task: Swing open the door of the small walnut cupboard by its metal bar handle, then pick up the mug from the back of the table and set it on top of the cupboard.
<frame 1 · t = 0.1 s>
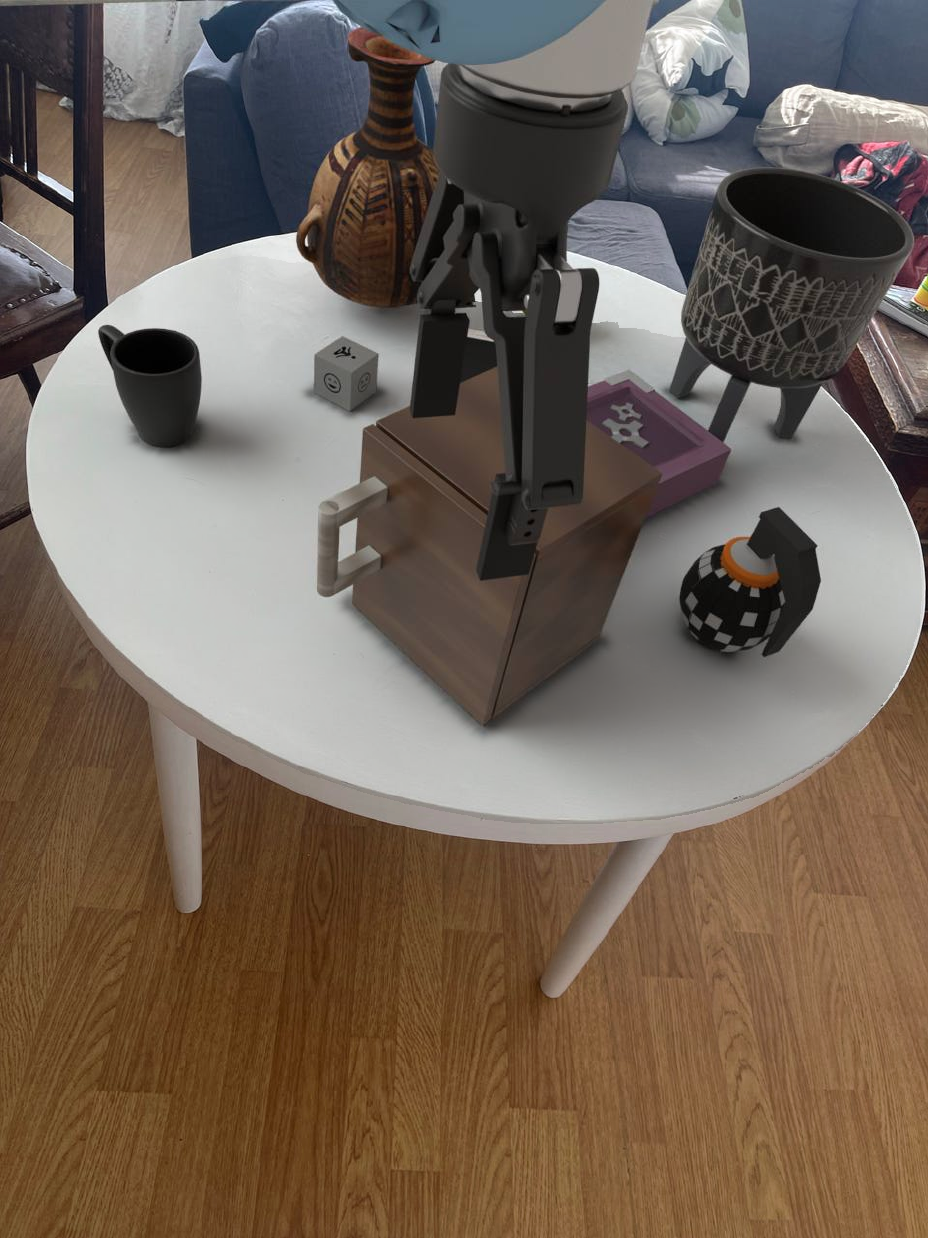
hand: (464, 487, 51), 28 cm above the table, tool pointing down, fingers open, 13 cm apart
planter: (721, 430, 108), on the table
lemon: (543, 324, 118), on the table
cupboard door: (402, 599, 70), point 10 cm above the table, hinge at 0.0°
cell phone: (475, 379, 108), on the table
dice cube: (345, 393, 103), on the table
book: (586, 478, 99), on the table
mug: (154, 423, 95), on the table
grenade: (719, 640, 85), on the table
cupboard: (480, 619, 83), on the table
vase: (376, 305, 116), on the table
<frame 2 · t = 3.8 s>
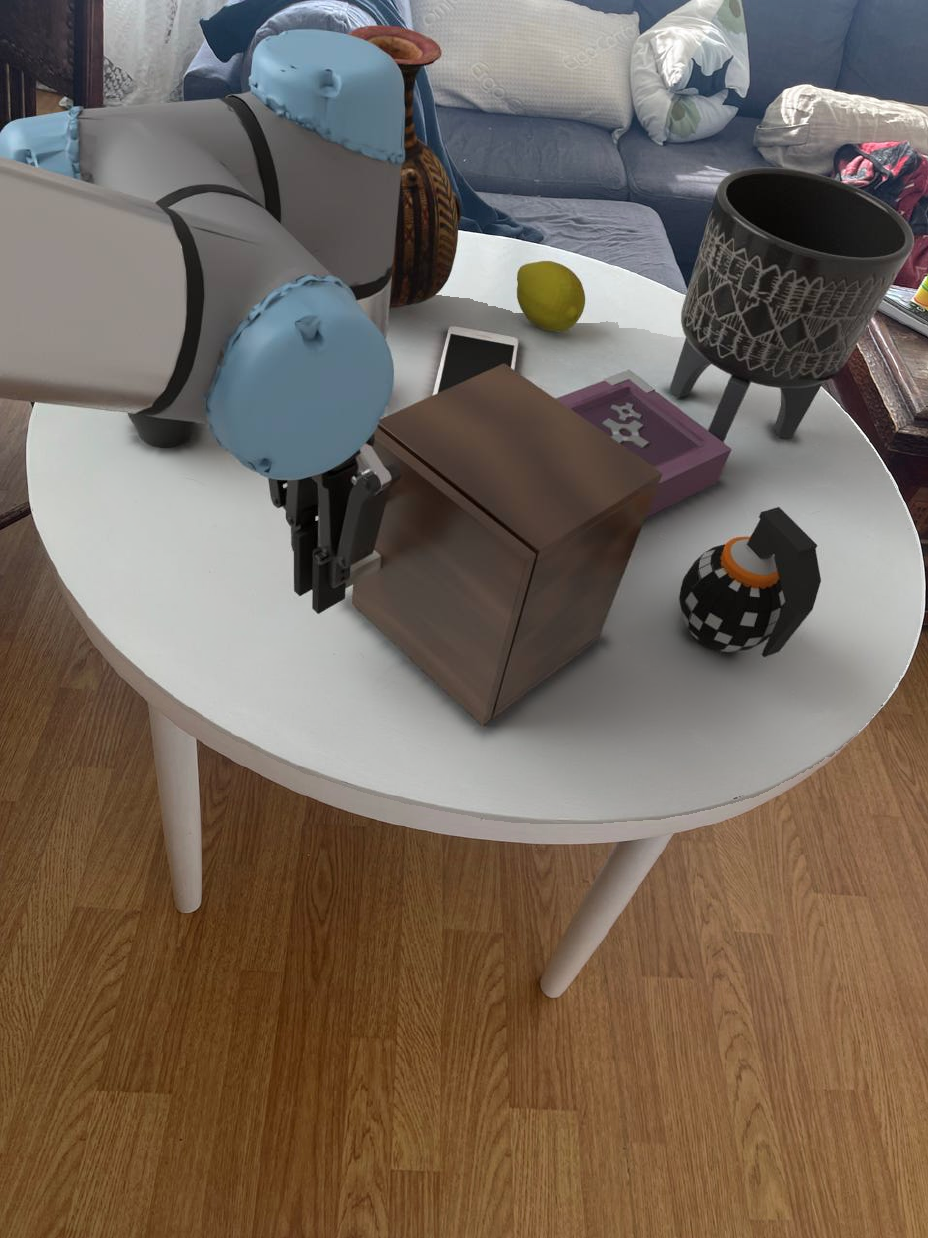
hand: (319, 594, 72), 7 cm above the table, tool pointing down, fingers closed on cupboard door, 2 cm apart
cupboard door: (402, 599, 70), point 10 cm above the table, hinge at 0.0°, touching gripper
everything else where it was.
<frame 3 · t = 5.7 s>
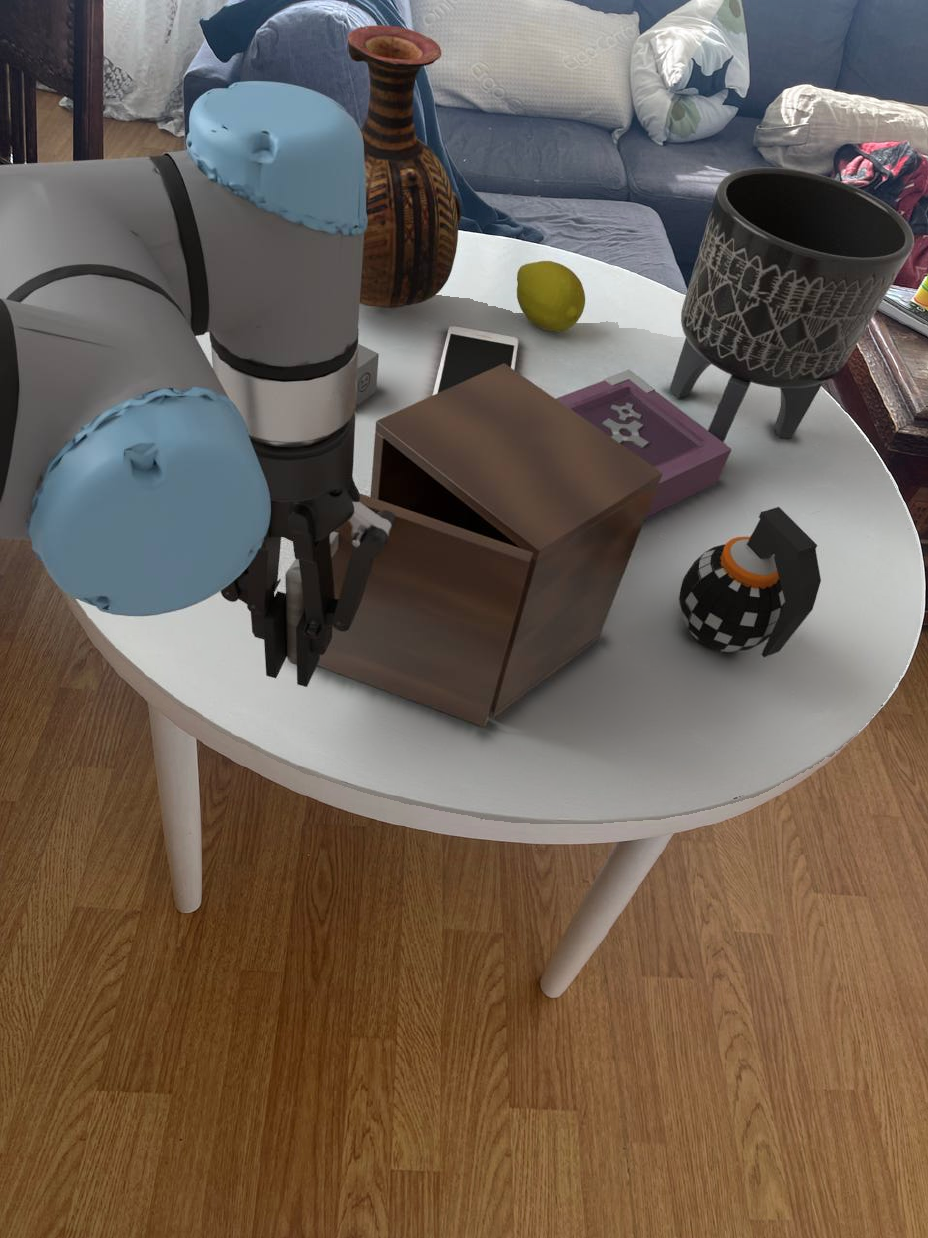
hand: (293, 667, 67), 7 cm above the table, tool pointing down, fingers closed on cupboard door, 2 cm apart
cupboard door: (387, 638, 67), point 10 cm above the table, hinge at 26.7°, touching gripper
everything else where it was.
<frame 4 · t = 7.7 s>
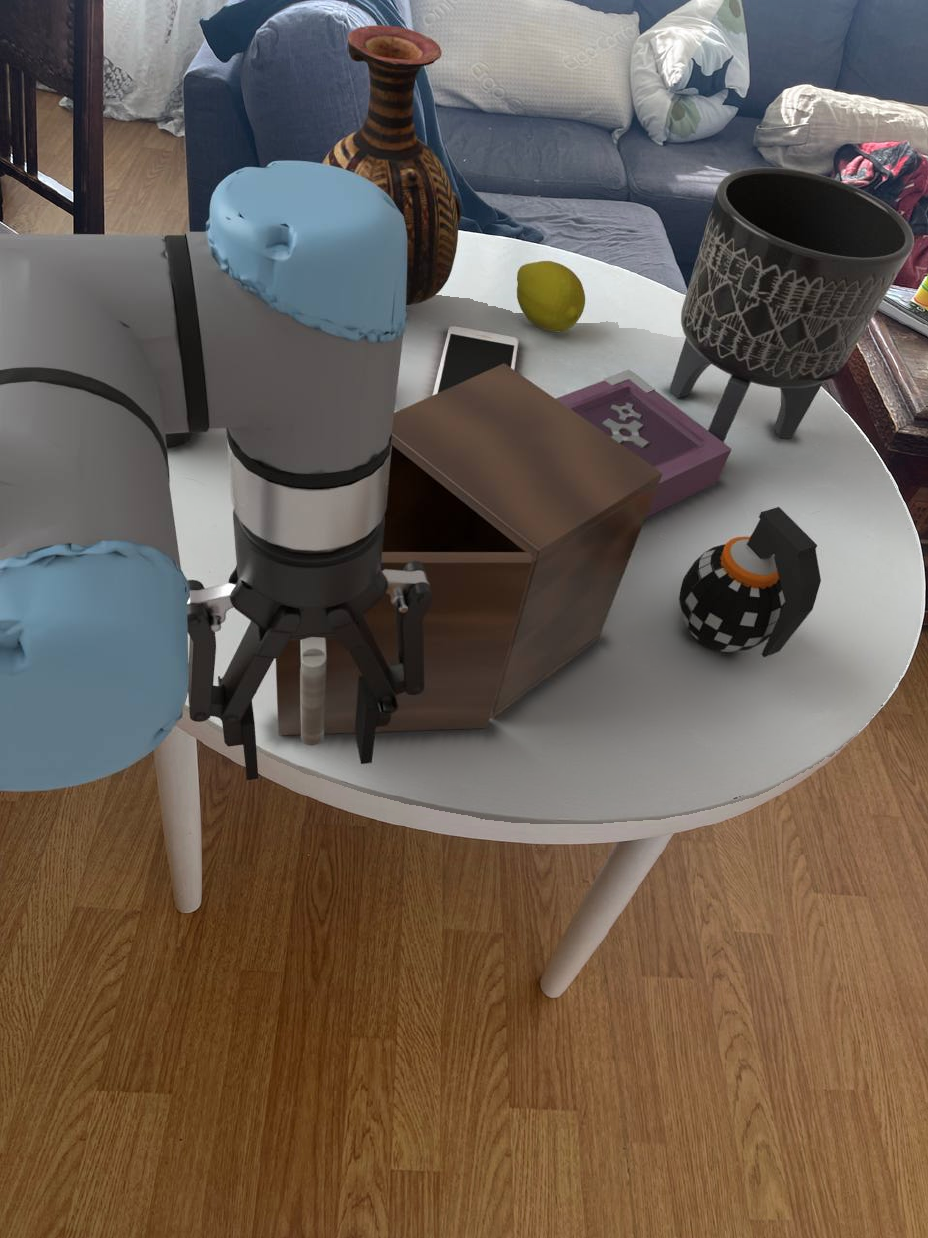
hand: (307, 754, 62), 8 cm above the table, tool pointing down, fingers open, 7 cm apart
cupboard door: (397, 683, 64), point 10 cm above the table, hinge at 53.6°
everything else where it was.
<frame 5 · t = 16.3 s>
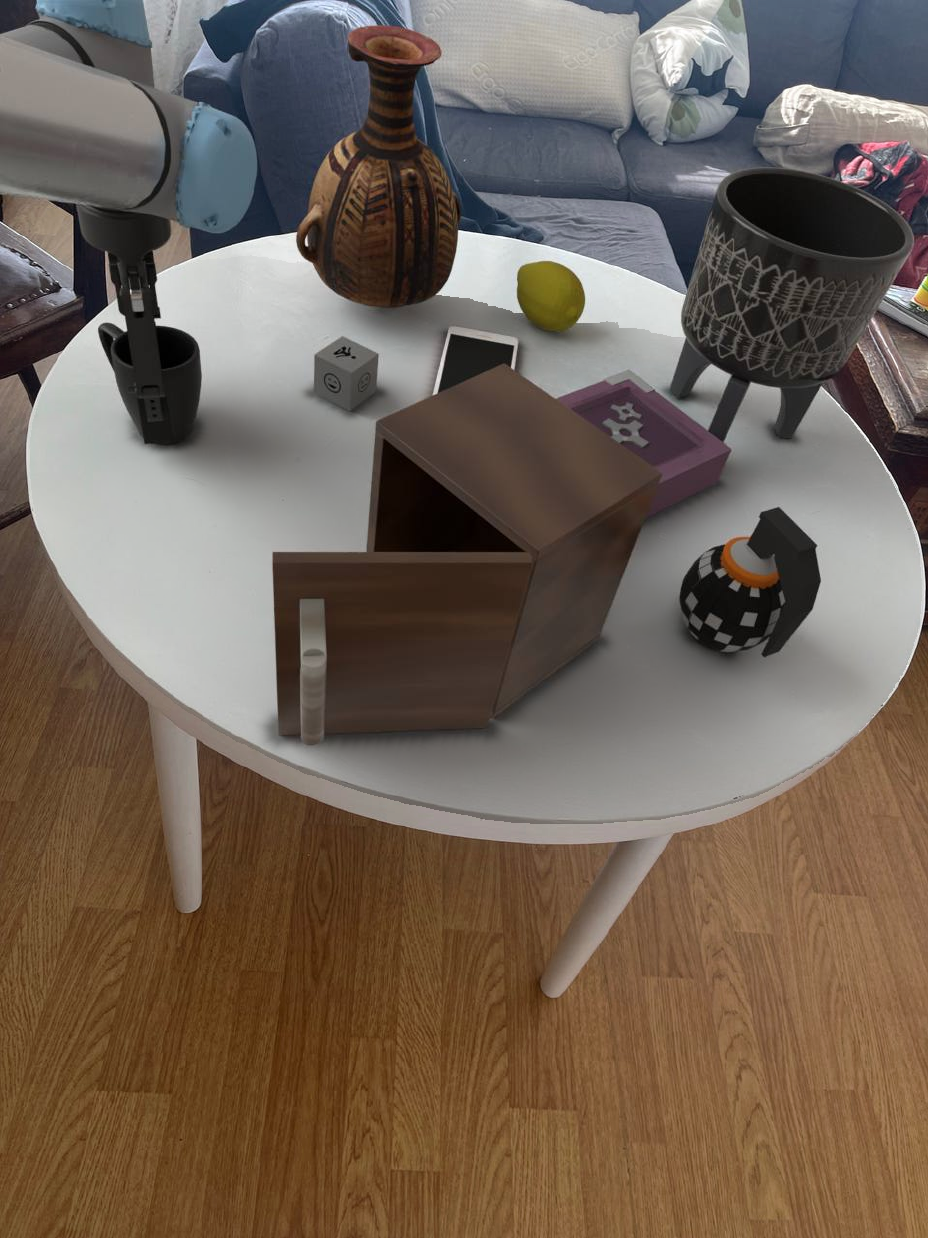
hand: (154, 408, 93), 2 cm above the table, tool pointing down, fingers closed on mug, 10 cm apart
mug: (153, 421, 95), on the table, touching gripper
everything else where it was.
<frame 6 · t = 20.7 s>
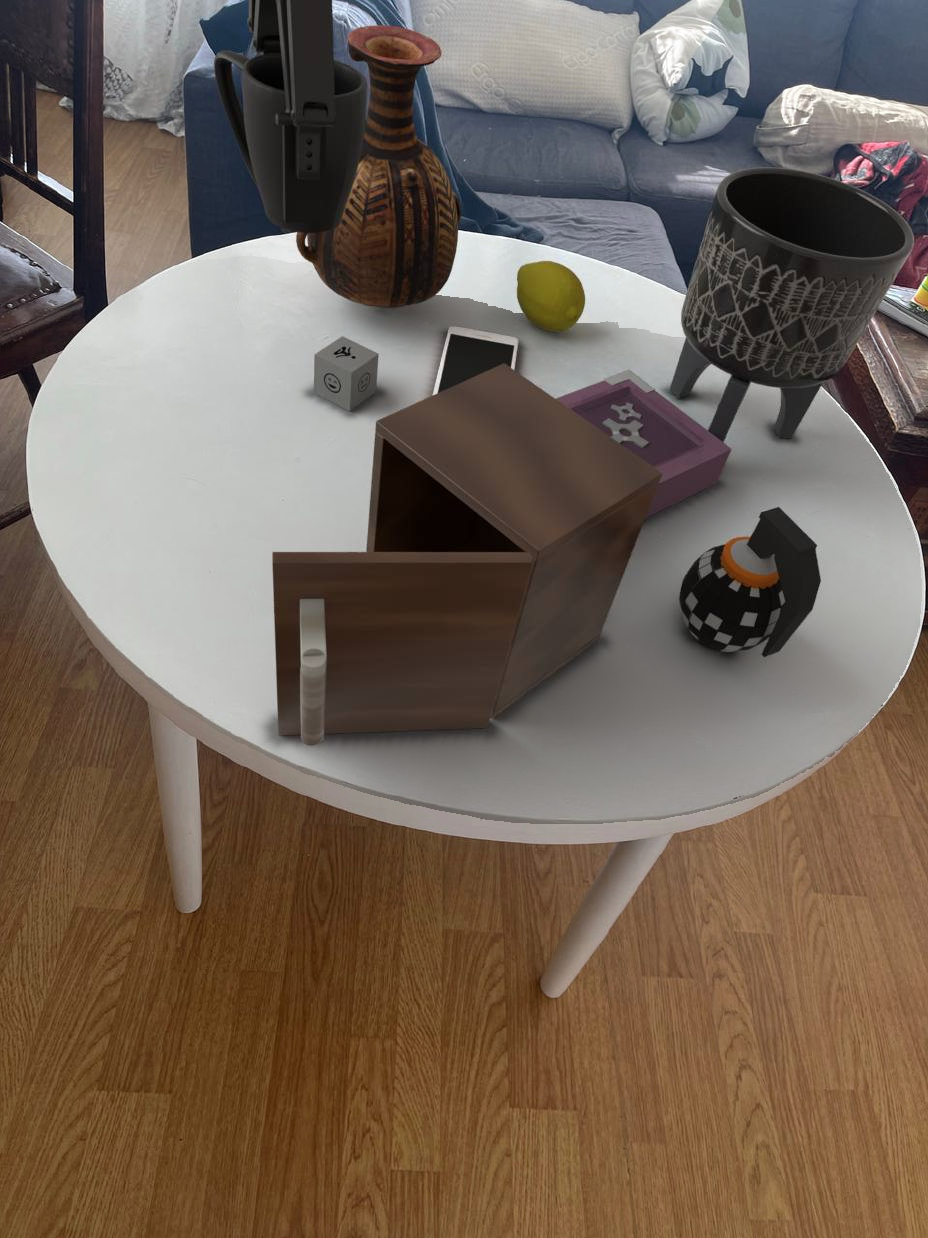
hand: (289, 184, 66), 31 cm above the table, tool pointing down, fingers closed on mug, 10 cm apart
mug: (285, 208, 68), point 29 cm above the table, touching gripper
everything else where it was.
when the fingers open (22 cm above the table, at t = 25.1 s): mug stays where it is, resting on cupboard.
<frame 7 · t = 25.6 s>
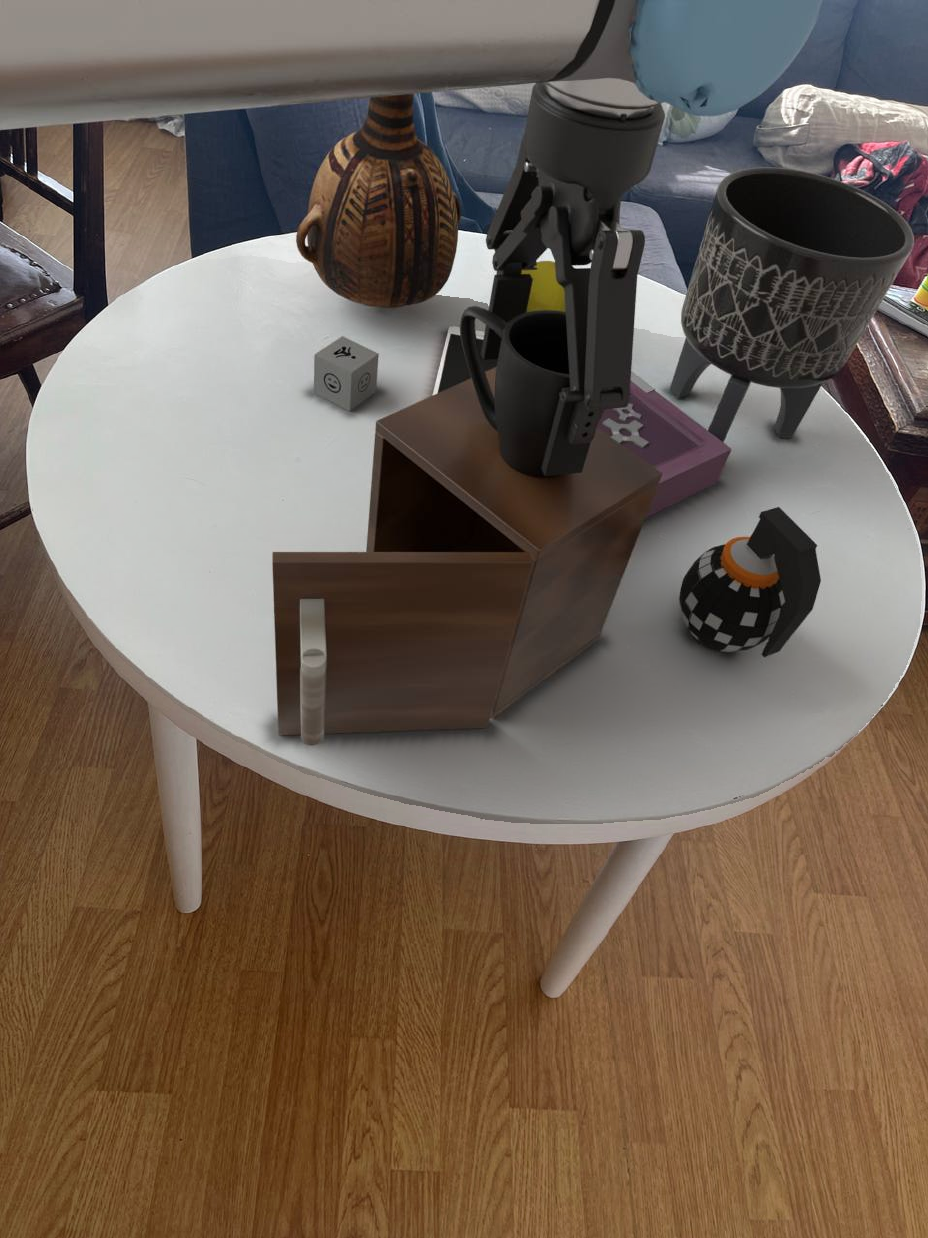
hand: (528, 410, 65), 23 cm above the table, tool pointing down, fingers open, 13 cm apart
mug: (515, 444, 68), point 20 cm above the table, touching cupboard
everything else where it was.
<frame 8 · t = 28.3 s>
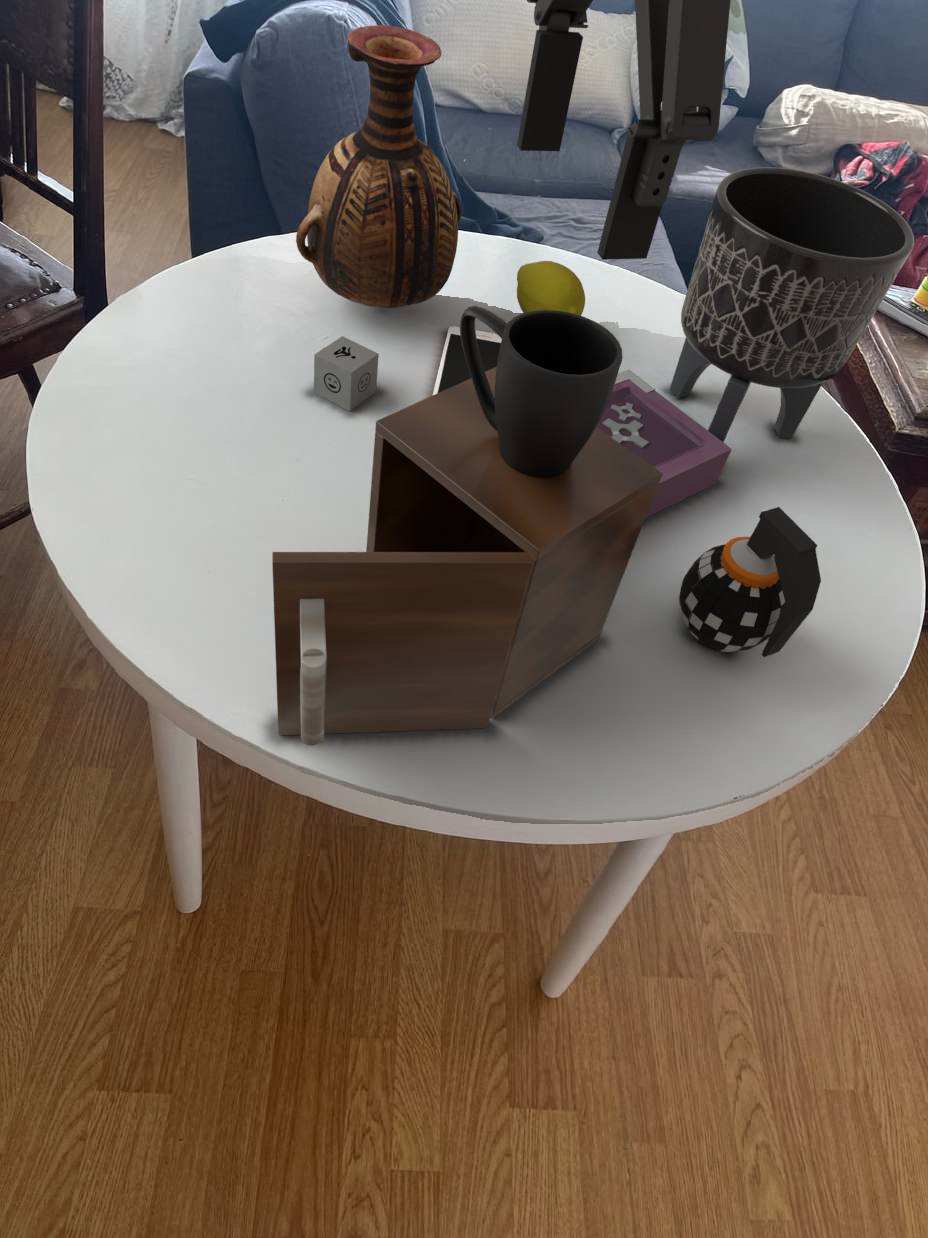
hand: (576, 198, 54), 39 cm above the table, tool pointing down, fingers open, 13 cm apart
nothing on the table moved.
at the end: cupboard door at +54° (first picture: +0°); mug inside the target area on the cupboard (0.6 cm from its centre), point 19.8 cm above the cupboard's base; mug tilted 0° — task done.
